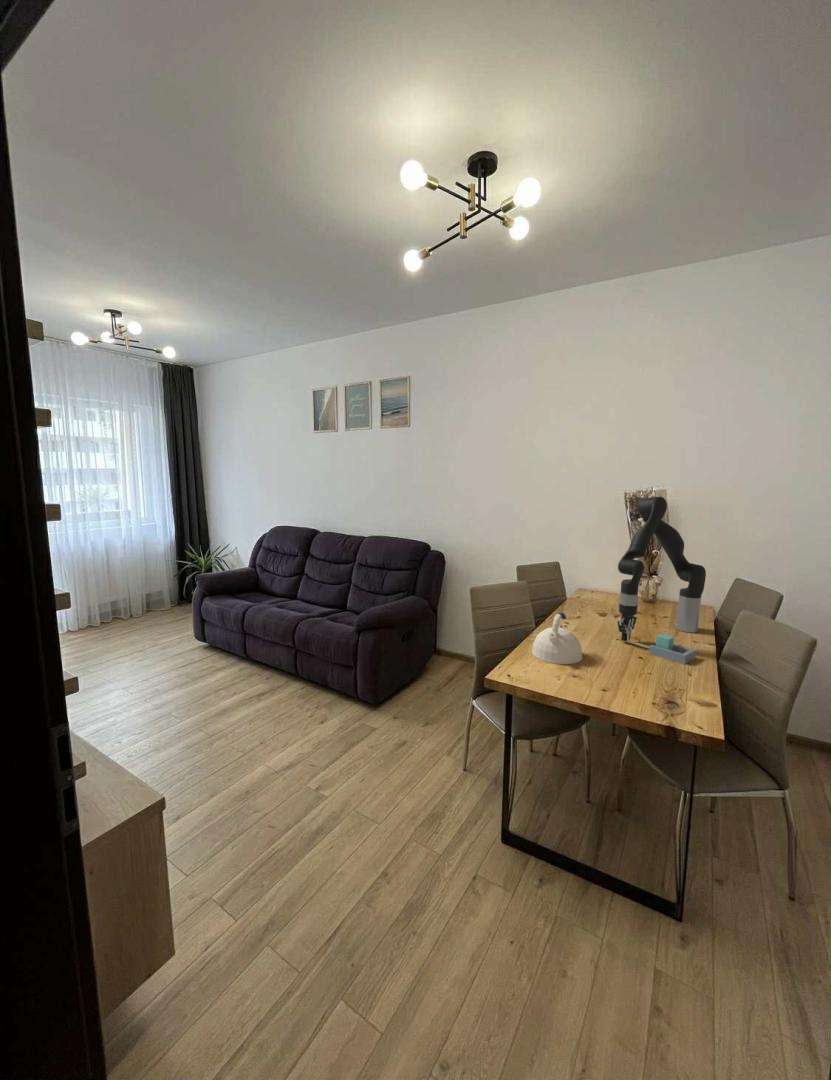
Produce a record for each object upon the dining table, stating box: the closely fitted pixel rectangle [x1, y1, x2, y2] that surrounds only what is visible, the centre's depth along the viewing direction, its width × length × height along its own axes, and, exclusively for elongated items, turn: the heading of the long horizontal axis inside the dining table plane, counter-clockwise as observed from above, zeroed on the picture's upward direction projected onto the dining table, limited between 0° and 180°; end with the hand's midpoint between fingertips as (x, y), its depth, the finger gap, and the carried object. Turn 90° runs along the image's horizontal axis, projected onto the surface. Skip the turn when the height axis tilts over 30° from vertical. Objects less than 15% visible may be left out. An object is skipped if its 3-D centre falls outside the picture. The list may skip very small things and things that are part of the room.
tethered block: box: [622, 630, 675, 651], centre depth 196 cm, size 5×20×7 cm, turn 38°
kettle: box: [531, 612, 583, 665], centre depth 187 cm, size 20×21×18 cm
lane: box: [648, 643, 696, 665], centre depth 188 cm, size 10×14×4 cm
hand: (625, 639), depth 203 cm, fingers closed on tethered block, 2 cm apart
